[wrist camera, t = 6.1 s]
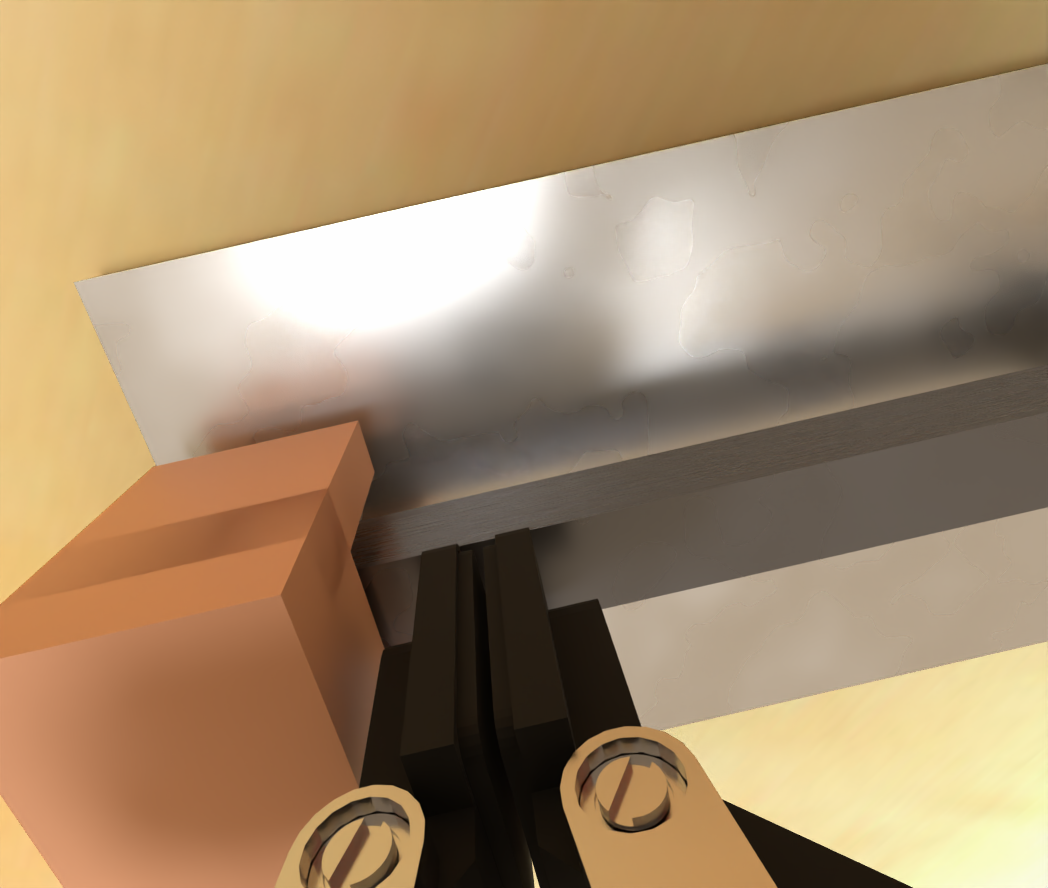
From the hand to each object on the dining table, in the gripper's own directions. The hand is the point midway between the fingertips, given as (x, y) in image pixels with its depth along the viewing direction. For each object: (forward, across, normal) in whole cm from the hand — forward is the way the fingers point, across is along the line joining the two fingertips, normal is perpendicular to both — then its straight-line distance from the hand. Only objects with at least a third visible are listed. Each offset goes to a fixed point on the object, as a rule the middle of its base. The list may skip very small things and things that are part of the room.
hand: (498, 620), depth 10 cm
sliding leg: (+4, +4, 0) cm, 6 cm away
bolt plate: (+6, -6, +1) cm, 8 cm away
